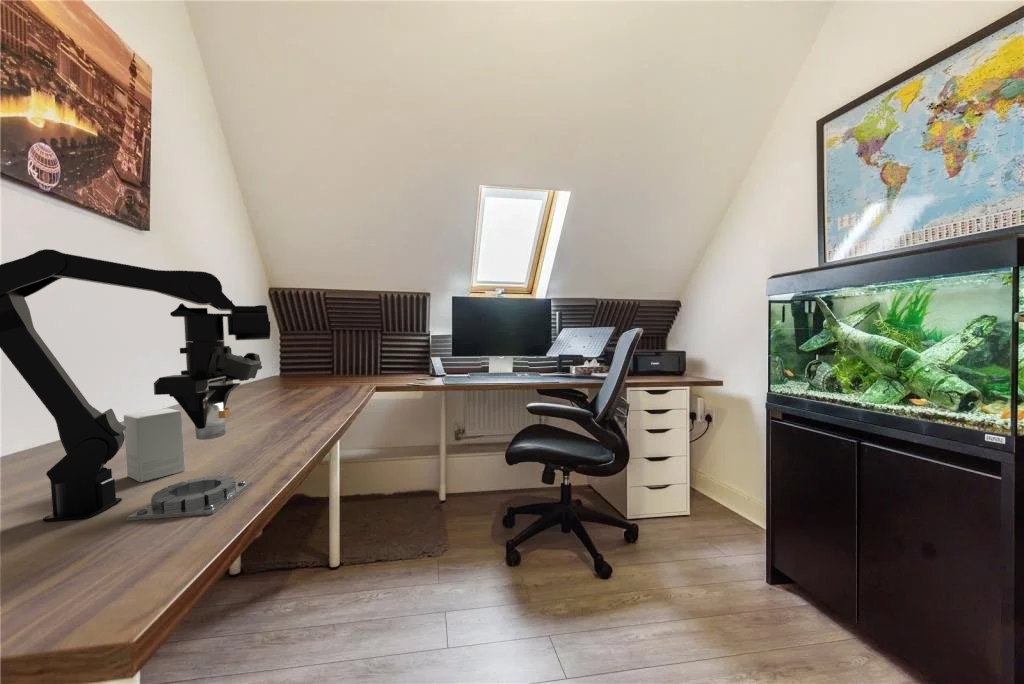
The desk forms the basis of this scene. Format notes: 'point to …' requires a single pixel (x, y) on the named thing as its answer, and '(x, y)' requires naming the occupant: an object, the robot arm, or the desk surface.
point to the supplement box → (154, 444)
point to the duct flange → (192, 498)
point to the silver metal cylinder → (214, 421)
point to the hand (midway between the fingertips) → (209, 425)
